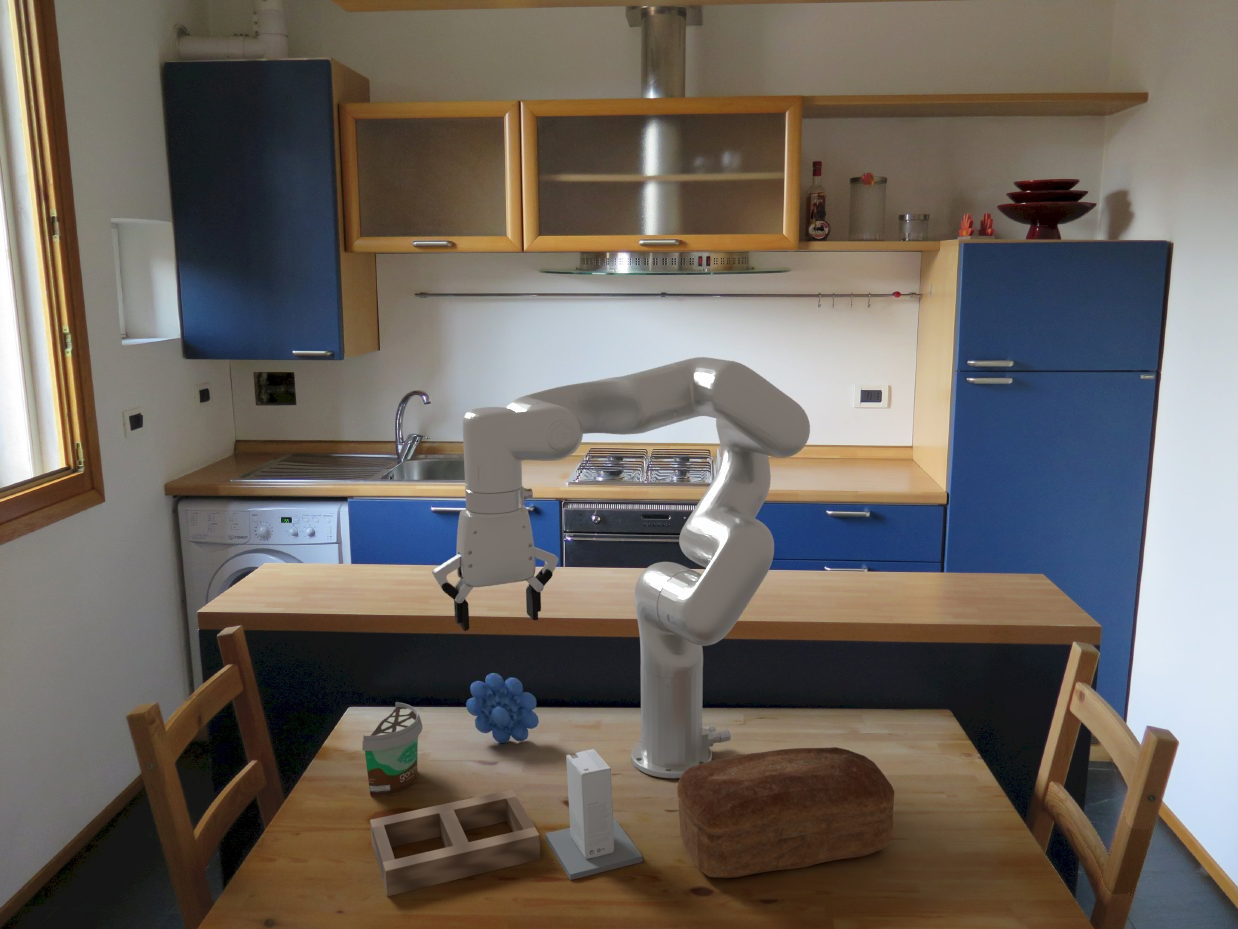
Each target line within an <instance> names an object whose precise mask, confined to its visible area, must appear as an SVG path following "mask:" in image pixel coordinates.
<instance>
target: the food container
mask: <svg viewBox="0 0 1238 929" xmlns="http://www.w3.org/2000/svg"><path fill="white" fill-rule="evenodd" d="M394 705H395V709H393V711H392V713H390V714H389V715H388V716H386V717H384V719H382V720H381V721H380V723H378V725H377V726H376V728H375V730H374V731H373V732H372V733H371V734H370V735H363V736H362V738H363V740H362V751H364V756H365V761H366V762H365V763H366V765H365V766H366V771H367V780H368V786H369V787H368V788H369V796H370V795H371V796H373V797H374V796H375V797H381V796H382V795H383V796H391V795H394V793H395V794H398V792H399V793H401V792H403V791H405V789H406V790H408V789H409V788H411V786H413V785H414V784H415V783H416V781H417V779H418V756H419V755H418V751H419V750H418V749H419V745H418V743H419V735H420V734H421V733H422V731H423V723H422V719H421V716H420V714H419V713H418V710H417V709H416V708H415V707H414V706H411V705H410V704H407V703H403V702H399V701H396V702H395V703H394Z"/></svg>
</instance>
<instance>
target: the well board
mask: <svg viewBox="0 0 1238 929" xmlns="http://www.w3.org/2000/svg"><path fill="white" fill-rule="evenodd" d="M506 822H507V824H508V826H509V828H510V830H511V831H512V832H508V833H505V834H504V833H503V834H499V835H494V836H490V837H485V838H482V839H478V840H473V841H469V840H468V838H467V836H466V834H465V832H466V831H471V830H474V829H478V828H485V827H488V826H493V825H497V824H502V823H506ZM369 824H370V825H369V826H370V839H371V846H372V849H373V853H374V856H375V861H376V864H377V867H378V870H379V874H380V877H381V880H382V884H383V887H384V890H385V894H386V897H391V896H395V895H398V894H404V893H407V892H410V891H416V890H419V889H423V888H428V887H431V886H435V885H436V886H437V885H440V884H443V883H448V882H452V881H456V880H459V879H465V878H469V877H472V876H477V875H481V874H485V873H488V872H489V873H490V872H494V871H497V870H501V869H505V868H509V867H510V868H511V867H513V866H517V865H522V864H526V863H531V862H535V861H538V860H539V861H540V860H541V842H540V841H541V840H540V839H541V837H540V833H539V832H538V830H537V828H536V826H535V825H534V823H533V821H532V820H531V818H530V816H529V814H528V812H527V811H526V810H525V808H524V807H523V805H522V803H521V801H520V799H519V798H518V796H517V795H516V793H515V791H514V790H513V789H508V790H504V791H499V792H498V791H497V792H494V793H489V794H484V795H480V796H475V797H470V798H466V799H462V800H461V799H460V800H457V801H452V802H448V803H443V804H438V805H433V806H428V807H423V808H419V809H415V810H410V811H406V812H401V813H400V812H399V813H395V814H391V815H387V816H386V815H385V816H383V817H382V816H381V817H377V818H372V819H370V820H369ZM439 837H440V839H441V842H442V844H443V846H444V847H442V848H439V849H434V850H430V851H425V852H422V853H416V854H413V855H409V856H404V857H400V858H395V856H394V852H393V849H392V848H394V847H396V848H397V847H398V846H399V847H400V846H405V845H407V844H409V845H410V844H412V843H417V842H421V841H426V840H431V839H434V838H435V839H436V838H439Z"/></svg>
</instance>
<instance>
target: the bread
mask: <svg viewBox="0 0 1238 929" xmlns="http://www.w3.org/2000/svg"><path fill="white" fill-rule="evenodd" d="M676 793H677V799H678V818H679V835H680V836H679V837H680V838H681V841H682V844H683V846H684V848H685V850H686V854H688V856H689V857H690V859H691V860H692V862H693V863H694V864H695V865H696V867H697V869H698V870H700V871H701V872H702V873H703V874H705V875H706V876H707V877H708V878H714V879H715V878H716V879H721V878H722V879H730V878H731V879H732V878H742V877H746V876H749V875H754V874H761V873H766V872H767V873H768V872H774V871H781V870H782V871H784V870H793V869H800V868H807V867H811V866H814V865H819V864H821V863H822V864H823V863H827V862H832V861H837V860H839V861H840V860H843V859H852V858H860V857H866V856H868V855H872V854H875V853H877V852H879V851H881V850H883V849H884V848H886V847H888V846H889V845H890V841H891V837H892V832H893V828H894V827H893V826H894V805H895V791H894V787H893V785H892V783H891V782H890V781H889V780H888V778H887V777H886V776H885V774H884V772H883V771H882V770H881V769H880V767H879V766H878V765H877V764H876V763H875V762H874V761H873V760H871V759H870V758H869V757H867V756H865V755H862V754H861V753H858V752H854V751H852V750H849V749H845V748H841V747H835V746H833V747H799V748H796V747H795V748H794V747H793V748H784V749H783V748H782V749H774V750H768V751H762V752H752V753H746V754H742V755H736V756H735V755H734V756H729V757H728V756H727V757H723V758H719V759H712V761H709V762H706V763H702V764H699V765H696V766H694V767H691V768H689V769H688V770H686V771H685V772H684V773H683V774H682V775H681V777H680V778H679V780H678V783H677V787H676Z"/></svg>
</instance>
